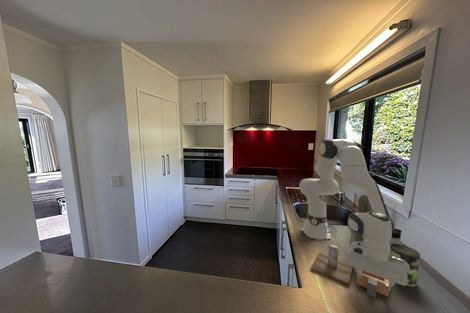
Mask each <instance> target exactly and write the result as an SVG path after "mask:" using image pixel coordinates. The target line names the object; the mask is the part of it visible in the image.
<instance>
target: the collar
mask: <svg viewBox="0 0 470 313" xmlns="http://www.w3.org/2000/svg"><path fill="white" fill-rule="evenodd" d="M359 272H360V274H362V280H361V279H358V275H357V274H356V283H355V284H356V285H358V286H361V287H364V288H367V290H366V295H369V296H371V297H373V298H377V293H378V294H381V295H383V296H385V297H389V292H390V291H389V290H386V288H385V287H386V283H387V284H389V283H390V281H389V280H387V279H384V278H381V277H378V276H376V275H373V274H370V273H368V272H365V271H362V270H359Z"/></svg>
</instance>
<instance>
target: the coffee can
mask: <svg viewBox="0 0 470 313" xmlns="http://www.w3.org/2000/svg"><path fill="white" fill-rule="evenodd" d="M390 256H392V257H395V258H398V259H402V260H404V261H405V262H407V263H408V264H409V266H410V270H409V272H407V278H408V284H407V285H406V287H416V286H418V273H419V265H420V258H421V253H420V252H419V251H417V250H416V249H414V248H413V247H409V246H406V245H404V244H403V245H402V244H401V243H400V244H391V245H390Z"/></svg>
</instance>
